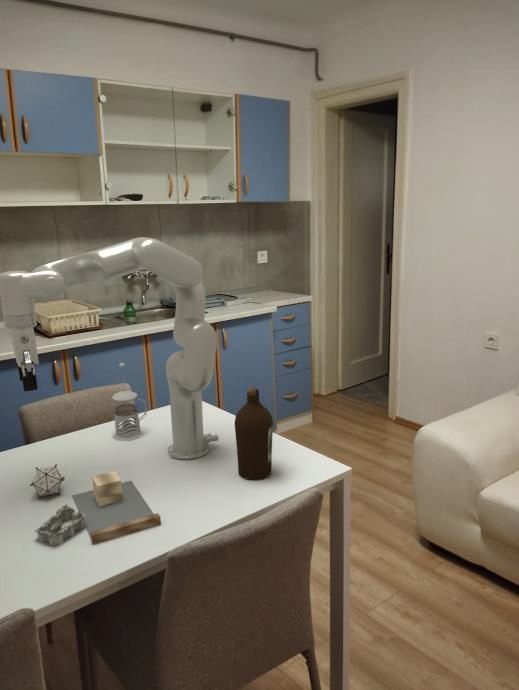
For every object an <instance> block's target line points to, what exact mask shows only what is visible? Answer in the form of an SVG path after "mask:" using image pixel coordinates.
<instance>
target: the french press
mask: <svg viewBox="0 0 519 690" xmlns="http://www.w3.org/2000/svg"><path fill="white" fill-rule="evenodd" d="M118 367H119V368H121V369H122V371H121V372H122V373H124V367H126V364H125V363H124V362H120V363H119V365H118ZM122 383H123V385H125V379H124V376H122ZM137 396H138V393H137V392H134V391H131V390H126V389H125V387H123V390H121V391H119V392H116V393H114V394H113V395H112V397H111V399H112V400H113V401H115V402H119V403H120V402H122V403H124V404H119V405H117V406H116V407H114V412H113V414H114V415H113V418H114V427H115V432H114V434H113V436H112V438H113V440H115V441H117V442H131V441H134V440H137V439H140V438H141V437H143V435H144V432H143V431H142V430H141V423H140V422H141V420H143V419H145V417H146V415H147V412H148V408H147V404H146V402H145V400H143V399H142V398H140V397H137ZM133 400H136V404H139V401H140V402H143V404H144V407H145V409H144V413H143V414H142V416H140V417H139V410H138V409H137V408H138V407H137V405H136V404H133V403H127V402H130V401H133Z"/></svg>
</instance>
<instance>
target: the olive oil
mask: <svg viewBox="0 0 519 690" xmlns="http://www.w3.org/2000/svg"><path fill="white" fill-rule="evenodd" d="M273 426H274V421H273V416H272V414H271V411H270V410H268V408H267V407H265V405H264V404H262V402H260V388H259V387H251V386H250V387H248V388H247V389H246V402H245V404H244V405H243V406H241V408H240V409H239V410H238V411H237V413H236V415H235V418H234V432H235V434H234V435H235V443H236V454H237V455H236V457H237V468H238V469H237V472H238V475H239V476H240V477H241V478H242V479H244V480H249V481H259V480H260V481H261V480H265V479H266V478H268V477H270V475H271V474H272V469H273V468H272V460H273V458H272V457H273V430H274V429H273V428H274V427H273Z"/></svg>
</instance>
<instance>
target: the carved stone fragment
mask: <svg viewBox="0 0 519 690" xmlns="http://www.w3.org/2000/svg"><path fill="white" fill-rule="evenodd" d="M85 515H87V514H85V513H81V512H80V511H78V510H77V512H76V510H75V509H74V508H73V507H71V506H68V504H67V503H66V504H64V505H63V506H61V507H60V508H59V509H57V510H56V512H55V514H53V515H51V516H50V518H49V519H47V520H46V521H45V522H43V523H42V524H41V525H40V526H39V527H38V528H36V529H35V530H34V532H35V533H36V534H37V535H38V542H41V543H43V542H46V541H48V542H49V545H50V546H55V545H62V544H63V543H64V539H65V538H68V537H73V536H74V535H75V533H76V530H78V529H85V528H86V527H85V523H84V522H85V521H84V516H85ZM65 521H69V524H65V525H63V522H65Z"/></svg>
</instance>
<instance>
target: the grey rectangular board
mask: <svg viewBox="0 0 519 690" xmlns="http://www.w3.org/2000/svg"><path fill="white" fill-rule="evenodd" d="M121 483H122V494H123V502H119V503H116V504H112V505H108V506H104V507H101V508H100V507H99V505H98V504H97V502H96V500H95V498H94V490H93V489H92V490H88V491H85V492H80V493H76V494H73V495H71V497H72V500H73V501H74V504H75V507H76V509H77V512H78V511H80V512H81V513H85V514H87V515H85V516H84V521H85V522H84V523H85V527H84V528H85V529H86V532H87V534H88V537H89V539H90V540H91V533H90V532H93V531H97V530H100V529H104V528H107V527H111V526H114V525H118V524H121V523H125V522H128V521H132V520H135V519H139V518H142V517H146V516H149V515H153V514H155V513H154V512H153V510H152V509H151V507H150V505H148V503H147V501H146V500H145V499H144V497H143V495H142V494H141V493H140V491H139V489H138V488H137V486H135V484H134V483H133V481H132V480H127V481H124V482H121Z"/></svg>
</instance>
